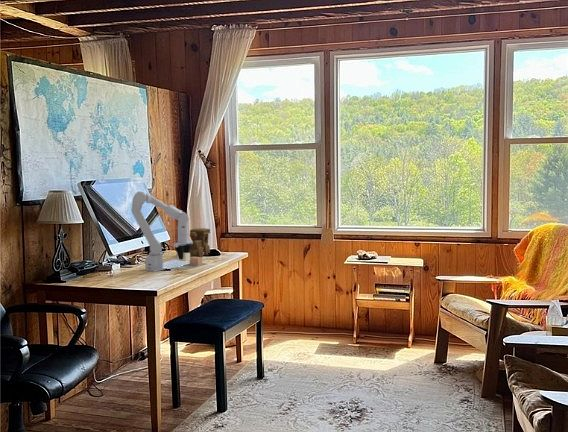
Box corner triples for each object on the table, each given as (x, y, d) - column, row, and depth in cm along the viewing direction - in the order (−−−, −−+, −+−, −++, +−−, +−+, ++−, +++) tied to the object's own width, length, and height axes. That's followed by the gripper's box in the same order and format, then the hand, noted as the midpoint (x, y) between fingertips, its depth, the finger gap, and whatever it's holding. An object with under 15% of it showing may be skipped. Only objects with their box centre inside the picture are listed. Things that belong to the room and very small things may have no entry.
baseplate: (186, 271, 313) (186, 262, 313) (170, 269, 318) (170, 261, 318) (208, 264, 332) (208, 256, 331) (193, 263, 337) (193, 255, 336)
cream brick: (185, 261, 317) (185, 253, 316) (177, 260, 319) (176, 253, 319) (190, 260, 320) (190, 252, 320) (181, 259, 323) (181, 252, 323)
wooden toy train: (195, 253, 374) (195, 228, 372) (212, 254, 371) (211, 228, 369) (182, 258, 354) (181, 231, 353) (199, 259, 351) (198, 232, 350)
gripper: (180, 236, 310) (181, 261, 311) (196, 233, 323) (197, 257, 324) (170, 235, 313) (170, 260, 315) (186, 232, 326) (187, 256, 327)
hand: (183, 258), depth 320 cm, fingers closed on cream brick, 4 cm apart
